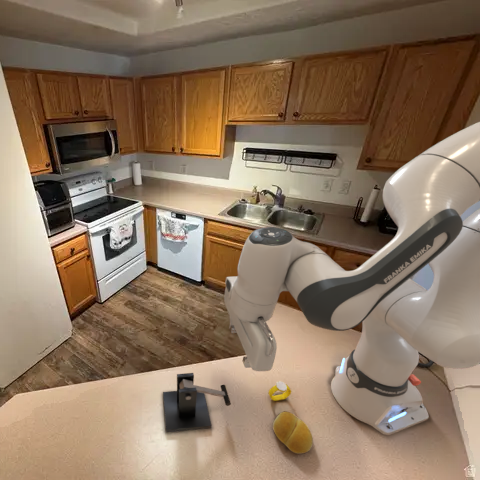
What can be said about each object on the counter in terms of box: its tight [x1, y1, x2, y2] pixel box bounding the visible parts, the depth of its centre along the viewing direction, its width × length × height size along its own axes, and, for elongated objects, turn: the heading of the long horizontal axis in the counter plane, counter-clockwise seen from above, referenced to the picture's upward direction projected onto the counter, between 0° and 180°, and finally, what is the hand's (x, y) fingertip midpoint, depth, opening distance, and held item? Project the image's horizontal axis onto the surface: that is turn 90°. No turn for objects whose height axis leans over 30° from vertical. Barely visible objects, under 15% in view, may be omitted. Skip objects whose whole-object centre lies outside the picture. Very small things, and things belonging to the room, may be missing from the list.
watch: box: [268, 380, 292, 402], centre depth 73 cm, size 6×3×6 cm, turn 97°
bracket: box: [162, 372, 212, 433], centre depth 69 cm, size 12×10×13 cm
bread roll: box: [271, 411, 314, 454], centre depth 65 cm, size 8×9×4 cm
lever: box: [179, 379, 232, 407], centre depth 68 cm, size 14×5×2 cm, turn 95°
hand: (239, 346), depth 60 cm, fingers open, 8 cm apart
